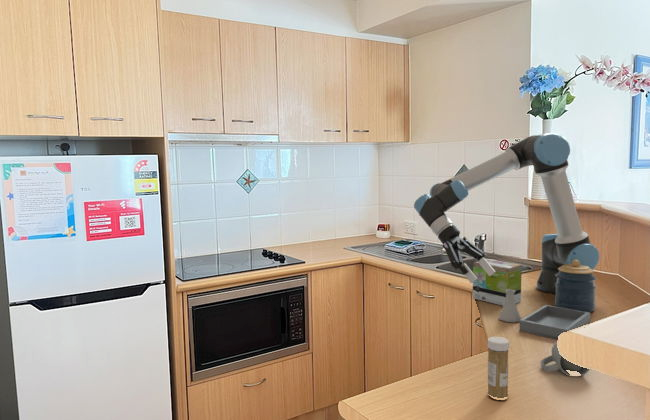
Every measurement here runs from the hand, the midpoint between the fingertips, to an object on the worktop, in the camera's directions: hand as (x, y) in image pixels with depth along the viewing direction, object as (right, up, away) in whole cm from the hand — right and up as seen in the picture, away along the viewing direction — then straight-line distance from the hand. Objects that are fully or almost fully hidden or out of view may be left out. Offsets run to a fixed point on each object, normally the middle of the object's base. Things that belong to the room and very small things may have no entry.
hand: (483, 277), depth 170 cm
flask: (+7, -14, -5) cm, 16 cm away
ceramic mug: (+6, -18, -46) cm, 49 cm away
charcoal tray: (+19, -14, -13) cm, 27 cm away
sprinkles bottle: (-16, -19, -59) cm, 64 cm away
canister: (+35, -12, +6) cm, 37 cm away
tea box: (+11, -12, +18) cm, 24 cm away
